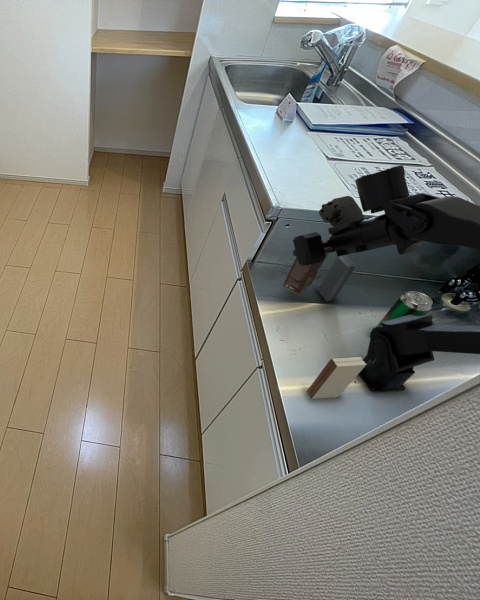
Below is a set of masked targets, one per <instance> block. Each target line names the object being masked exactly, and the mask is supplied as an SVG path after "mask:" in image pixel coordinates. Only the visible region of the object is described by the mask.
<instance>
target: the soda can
mask: <svg viewBox="0 0 480 600" xmlns="http://www.w3.org/2000/svg"><path fill="white" fill-rule="evenodd" d="M433 303H434V302H433V300H432V299H431V297H430V296H428V295H427V294H425V293H422V292H419V291H414V290H411V291H406V292H405V293H403V294H401V295H400V296H399V297H398V298H397V300H396V301H395V302H394V304H393V305H392V306H391V307H390V308H389V310H388V311H387V313H386V314H385V315H384V316H383V317H382V318H381V320H380V321H379V322H378V323H377V324H376V325H375V327H378V326H381V324H380V323H382V322H386V321H389V320H393V319H396V318H400V317H403V316H406V315H413V316H425V315H428V313H429V312H430V311H431V310H432V305H433Z"/></svg>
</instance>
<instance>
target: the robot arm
mask: <svg viewBox="0 0 480 600" xmlns="http://www.w3.org/2000/svg"><path fill="white" fill-rule="evenodd" d="M354 183H355V186H356V190H357V194H358V198H359V201H360V205H361V207H360V206H359V204H358V203H357V201H356V200H355V199H354V197H352V196H351V195H345V196H341V197H336V198H333V199H331V200H330V201H328V202H326V203H322V205H321V208H320V209H319V210H318V215H319V216H320V218H321V219H322V221H323V222H324V223H329V224H330V225H331V227H328V228H327V230H328V234H329V236H328V238H329V239H328V240H326V241H327V242H326V243H323V242H322V240H323V239H322V235H321V234H320V233H318V232H317V231H314V232H309V233H305V234H301V235H297V236H294V237H293V240H292V242H293V246H294V249H293V250H292V254H293V256H294V257H295V258H296V257H297V258H298V262H299V265H301V266H306V265H311V264H315V263H319V262H323V261H325V260H326V258H327V256H326V254H327V255H328V254H331V253H336V257H339V256H347V255H351V254H359V253H364V252H366V251H370V250H376V249H380V248H385V247H390V246H394V245H395V246H396V249H397V254H399V255H405V254H409V253H413V252H416V251H419V249H420V248H421V246H422V243H424V242H425V243H430V244H435V245H451V246H459V247H464V248H468V249H472V250H475V251H477V252H480V205H478V204H476V203H474V202H471V201H470V200H469V201H468V200H466V199H464V198H462V197H459V196H452V195H449V196H443V197H439V196H436V195H432V194H428V193H425V192H419V193H416V194H410V192H409V188H408V183H407V180H406V171H405V167H404V165H403V164H400V165H395V166H392V167H389V168H386V169H384V170H380V171H377V172H374V173H370V174H365V175H363V176H360V177H358V178H356V179H354ZM365 212H370V214H376V213H380V212H384V213H383V214H380V215H376V216H368V217H365V216H364V214H363V213H365ZM330 246H332V247H331V248H327V249H324V248H326V247H330ZM325 257H326V258H325ZM324 259H325V260H324ZM323 263H324V262H323ZM380 324H381V326H378V327H376V326H375V327H372V329H371V331H370V334H369V338H370V339H369V342H368V343H369V344H368V347H367V352H366V356H364V357H363V358H362V360H363V361H364V362H365V363H366V366H365V367H364V368H363V369H362V370H361V371H360V373H359V374H358V376H359V377H360V378H361V379H362V381H363V382H364V384H365V385H366V387H367V388H368V389H369V391H370V392H372V393H384V392H386V393H387V392H403V391H405V390H406V386H405V385H404V384H405V383H406V382H407V381H408V380H409V379H410V378H411V377H412V376H413V375H414V374H415V373H416V371H415V370H414V368H415V367H417V366H421V365H423V364H427V363H430V362H433V361H435V357H434V352H437V353H439V352H440V353H452V354H453V353H454V354H455V353H456V354H470V355H480V325H443V324H438V323H437V322H434V321H433V315H432V314H426V315H425V316H413V315H406V316H403V317H400V318H396V319H393V320H389V321H386V322H382V323H380Z"/></svg>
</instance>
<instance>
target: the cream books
mask: <svg viewBox="0 0 480 600" xmlns="http://www.w3.org/2000/svg"><path fill="white" fill-rule="evenodd" d="M365 366H366V363H365V362H364V361H363V358H362V357H361V356H354V357H339V358H338V357H336V358H334V357H333V358H330V359H329V361H328V362H327V363H326V364H325V366H324V367H323V368H322V370H321V372H320V373H319V374H318V375H317V376H316V378H315V380H314V381H313V382H312V383H311V385H310V386H309V387H308V389H307V390H306V392H307V394H308V396H309V398H310V399H311V400H313V399H330V398H332V399H333V398H339V397H340V395H341V394H342V393H343V392H344V391H345V390H346V388H348V386H350V384H351V383H352V382H353V381H354V379H356V378H357V376H359V373H360V371H361V370H362V369H363V368H364V367H365Z"/></svg>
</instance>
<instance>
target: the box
mask: <svg viewBox="0 0 480 600" xmlns="http://www.w3.org/2000/svg"><path fill="white" fill-rule="evenodd" d="M322 242H323V243H326V242H327V240H324V239H322ZM331 247H332V246H330V247H326V248H324V249H327V248H331ZM327 256H328V254H326V257H325V259H324V261H325V260H326V258H327ZM324 261H323V262H319V263H315V264H311V265H306V266H301V265H299V262H298V258H297V257H296V256H295V259H294V262H293V263H292V266H291V267H290V269H289V272H288V274H287V275H286V278H285V280H284V282H283V284H282V287H283V288H284V289H286V290H288V291H291V292H292V293H295V294H297V295H300V294H301V293H303V292H304V291H305V290H306V289H307V288H309V286H311V285H312V284H313V282H314V280H315V278H316V276H317V275H318V274H319V273H318V272H319V271H320V269H321V267H322V265H323V263H324Z"/></svg>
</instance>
